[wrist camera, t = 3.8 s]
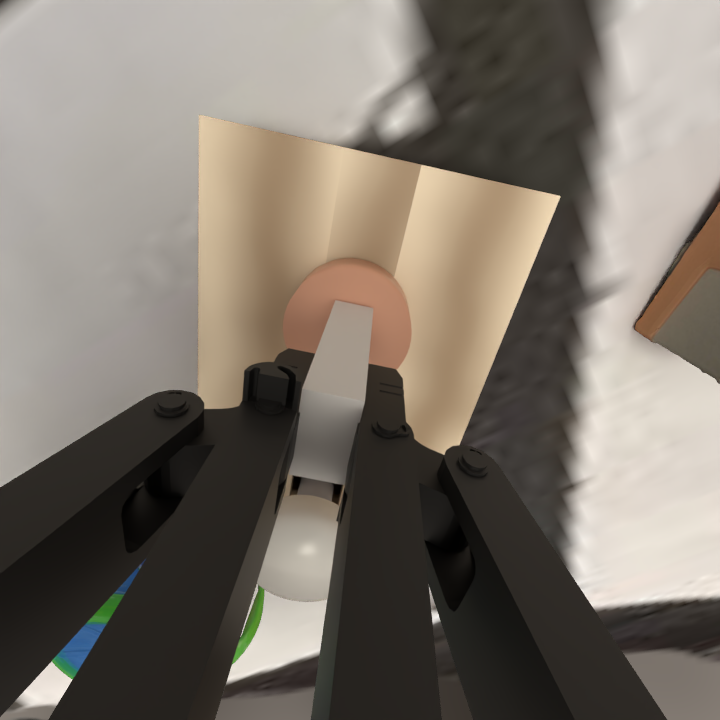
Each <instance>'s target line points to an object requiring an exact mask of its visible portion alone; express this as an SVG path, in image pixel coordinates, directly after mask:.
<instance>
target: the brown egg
mask: <svg viewBox="0 0 720 720" xmlns="http://www.w3.org/2000/svg"><path fill="white" fill-rule="evenodd" d="M335 300H338V301H342V302H347V303H352V304H356V305H361V306H366V307H371V308H373V319H372V330H371V341H370V352H369V364H374V365H379V366H383V367H388V368H393V369H396V370H397V369H398V368H399V366H400V365H401V364H402V362H403V361H404V359H405V357H406V355H407V353H408V350H409V347H410V343H411V335H412V329H411V320H410V314H409V308H408V303H407V299H406V296H405V294H404V291H403V290H402V288H401V286H400V285H399V283H398V282H397V280H396V279H395V278H394V277H393V276H392V275H391V274H390V273H389V272H387V271H386V270H385V269H383V268H382V267H380V266H378V265H376V264H374V263H372V262H369V261H366V260H362V259H355V258H344V259H337V260H333V261H330V262H327V263H325V264H323V265H321V266H319V267H317V268H316V269H315V270H313V271H312V272H311V273H310V274H309V275H308V276H307V277H306V278H305V279H304V281H303V282H302V283H301V285H300V286H299V288H298V289H297V291H296V292H295V293H294V295H293V296H292V298H291V299H290V301H289V303H288V305H287V308H286V310H285V314H284V319H283V336H284V340H285V344H286V347H287V349H288V348H290V349H295V350H300V351H305V352H310V353H316V350H317V348H318V345H319V343H320V340H321V337H322V335H323V332H324V329H325V327H326V324H327V321H328V319H329V316H330V313H331V311H332V308H333V305H334V303H335Z"/></svg>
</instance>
